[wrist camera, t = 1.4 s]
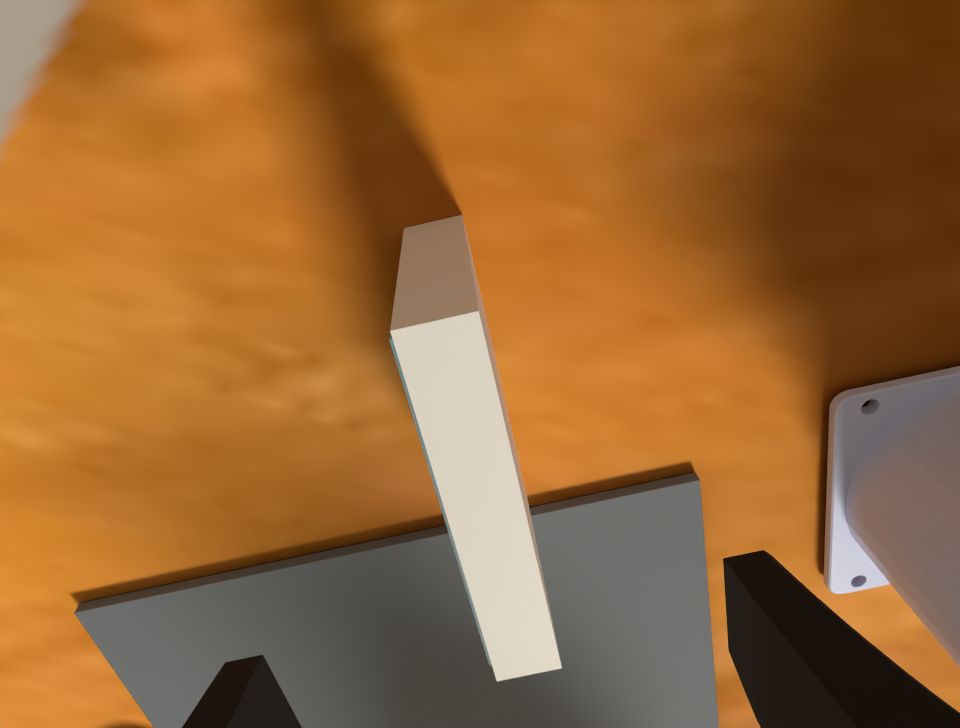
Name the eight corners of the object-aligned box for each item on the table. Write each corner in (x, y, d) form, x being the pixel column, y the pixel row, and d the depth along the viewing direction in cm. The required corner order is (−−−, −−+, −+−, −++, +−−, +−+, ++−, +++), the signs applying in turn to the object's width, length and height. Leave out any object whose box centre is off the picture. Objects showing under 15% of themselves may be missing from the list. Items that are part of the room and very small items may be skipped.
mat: (695, 472, 21) (700, 479, 20) (719, 775, 28) (723, 784, 27) (80, 603, 21) (74, 612, 21) (259, 865, 29) (257, 875, 28)
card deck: (462, 213, 17) (478, 311, 11) (525, 491, 21) (562, 668, 15) (400, 228, 17) (384, 332, 11) (475, 502, 21) (492, 682, 15)
